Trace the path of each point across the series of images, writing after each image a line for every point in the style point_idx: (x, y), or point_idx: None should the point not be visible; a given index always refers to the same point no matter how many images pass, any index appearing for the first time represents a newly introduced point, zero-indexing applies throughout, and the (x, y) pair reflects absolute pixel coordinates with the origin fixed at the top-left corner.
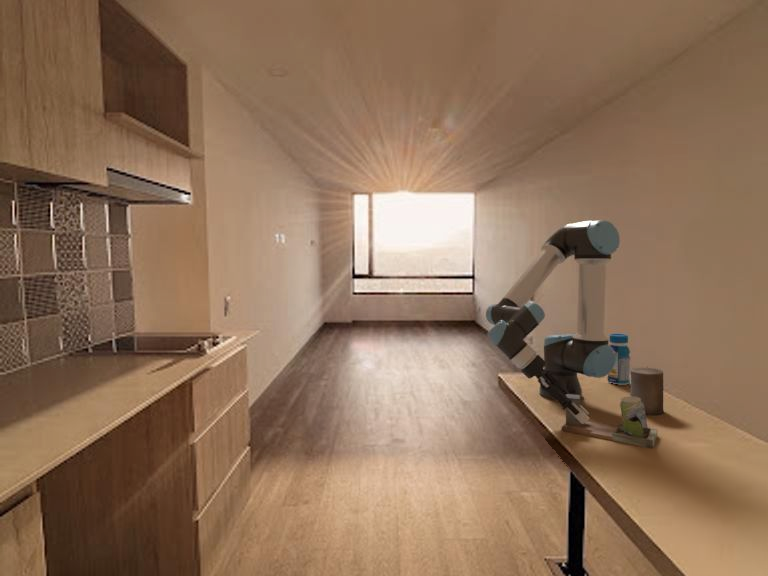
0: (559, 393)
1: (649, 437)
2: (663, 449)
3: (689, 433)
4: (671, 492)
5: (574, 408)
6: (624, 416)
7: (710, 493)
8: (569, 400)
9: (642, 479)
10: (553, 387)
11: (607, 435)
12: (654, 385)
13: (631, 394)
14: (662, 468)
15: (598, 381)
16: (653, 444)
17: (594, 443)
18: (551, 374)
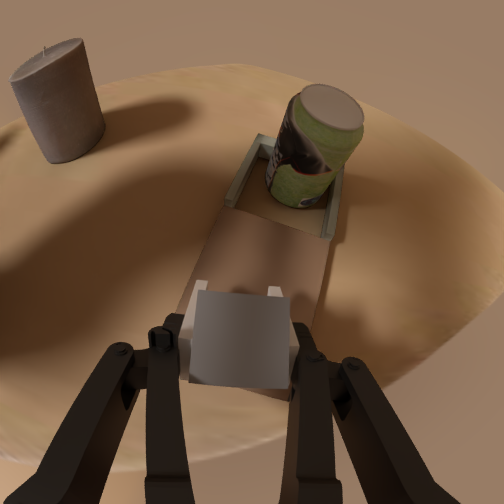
0: (398, 423)
1: None
2: None
3: (217, 103)
4: (472, 212)
5: (312, 342)
6: (338, 168)
7: (448, 172)
8: (325, 365)
9: (466, 236)
10: (421, 468)
11: (324, 252)
12: (88, 68)
13: (47, 133)
14: (419, 193)
15: None
16: None
17: (364, 298)
18: (36, 488)
